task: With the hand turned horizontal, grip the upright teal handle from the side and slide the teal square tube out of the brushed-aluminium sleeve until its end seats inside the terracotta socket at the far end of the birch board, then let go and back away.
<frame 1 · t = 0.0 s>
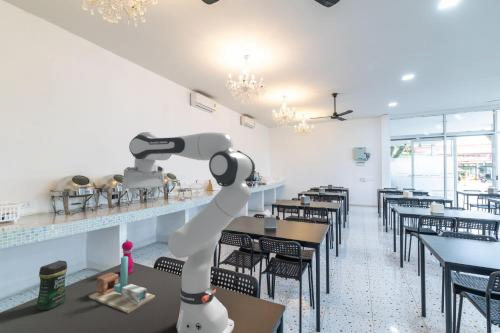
hand: (144, 197, 106), 48 cm above the table, tool pointing down, fingers open, 8 cm apart
tube fixture: (121, 297, 110), on the table
pepper mill: (126, 272, 138), on the table
coffee jar: (51, 305, 103), on the table
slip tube: (128, 276, 108), point 11 cm above the table, slide at 0.0 cm
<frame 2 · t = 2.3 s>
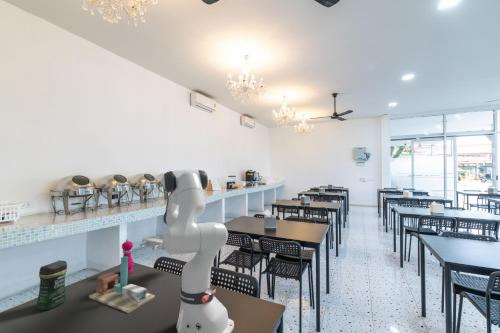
hand: (147, 246, 122), 20 cm above the table, tool horizontal, fingers open, 8 cm apart
nothing on the table moved.
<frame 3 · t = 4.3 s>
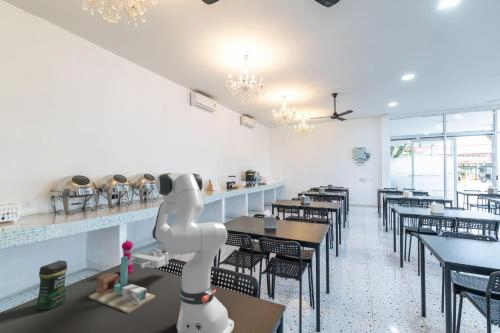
hand: (134, 264, 115), 14 cm above the table, tool horizontal, fingers open, 8 cm apart
nothing on the table moved.
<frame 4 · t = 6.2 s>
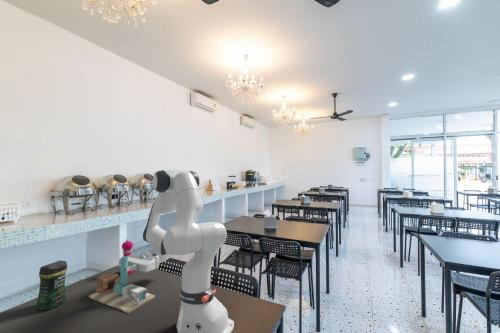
hand: (122, 268, 109), 14 cm above the table, tool horizontal, fingers closed on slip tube, 3 cm apart
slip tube: (128, 276, 108), point 11 cm above the table, slide at 0.0 cm, touching gripper
everything else where it was.
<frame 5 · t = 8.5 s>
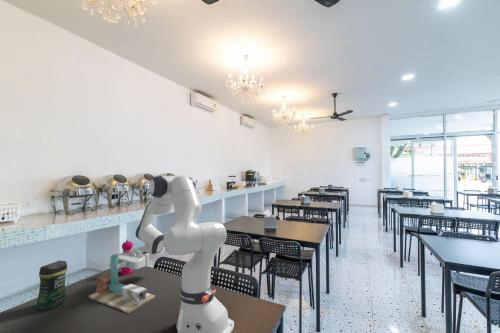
hand: (112, 265, 112), 14 cm above the table, tool horizontal, fingers closed on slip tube, 3 cm apart
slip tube: (118, 273, 111), point 11 cm above the table, slide at 7.2 cm, touching gripper
everything else where it was.
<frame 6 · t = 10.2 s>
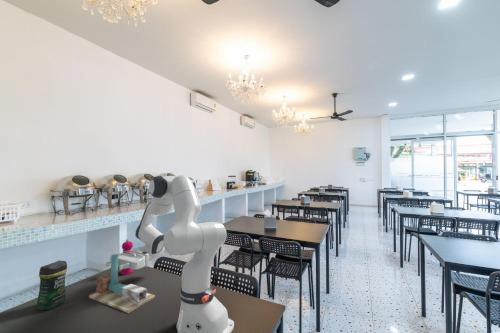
hand: (112, 266, 112), 14 cm above the table, tool horizontal, fingers open, 8 cm apart
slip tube: (118, 273, 111), point 11 cm above the table, slide at 7.2 cm
everything else where it was.
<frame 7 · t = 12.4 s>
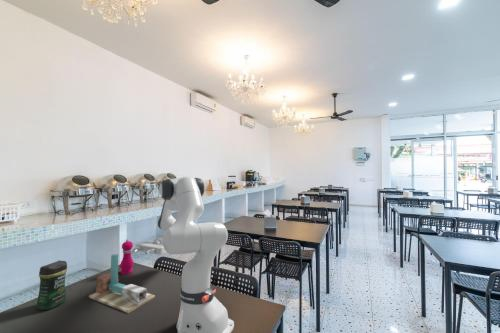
hand: (139, 251, 124), 17 cm above the table, tool horizontal, fingers open, 8 cm apart
nothing on the table moved.
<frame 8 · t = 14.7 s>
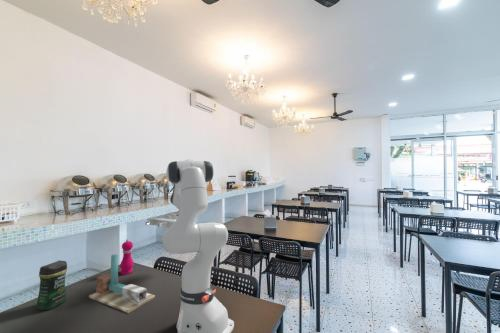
hand: (152, 224, 124), 32 cm above the table, tool horizontal, fingers open, 8 cm apart
nothing on the table moved.
at the end: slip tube slide at 7.2 cm; the gripper is holding nothing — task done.
